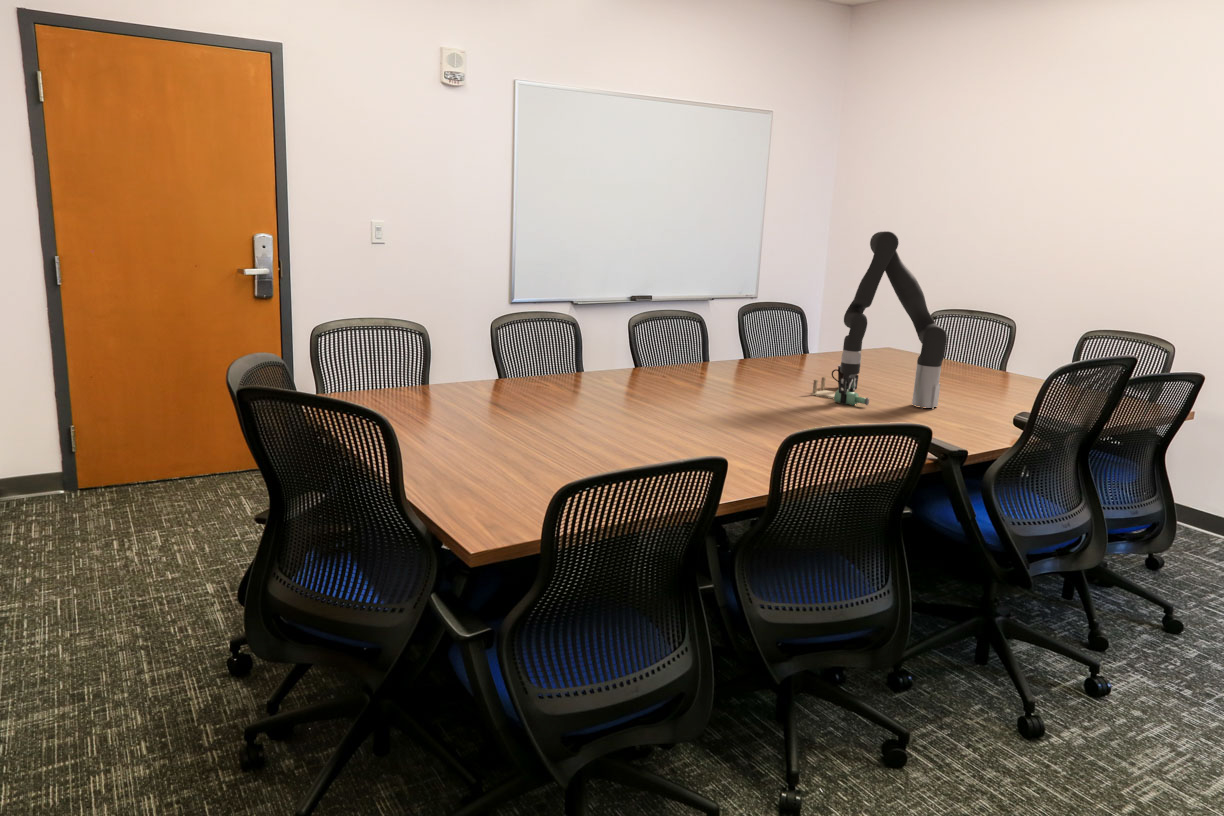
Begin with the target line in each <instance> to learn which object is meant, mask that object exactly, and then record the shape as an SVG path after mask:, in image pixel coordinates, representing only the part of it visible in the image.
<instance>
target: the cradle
mask: <svg viewBox="0 0 1224 816" xmlns="http://www.w3.org/2000/svg"><path fill="white" fill-rule="evenodd" d="M818 382H819V381H818V379H813V383H812V384H813V386H812V391H811V394H810V396H813V395H816V396H815V397H819V396H821V397H820V398H824V397H828V398H827V399H830V398H834V396H835V393H836V391H834V390H833V391H832V390H827V389H825V387H826V386H825V385H826V377H825V376H821V381H820V382H821V383H820V389H819V390H818ZM837 388H838V389H837V390H839V387H837Z"/></svg>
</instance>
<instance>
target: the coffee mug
mask: <svg viewBox="0 0 1224 816" xmlns="http://www.w3.org/2000/svg"><path fill="white" fill-rule="evenodd" d="M837 368H838V369H836V368H835V369H833V370H832V371H831V378H832V379H834V381H836V382H837V385H838V387H839V380H840V378H841V379H843V376H844V374H843V373H841V372H840V368H841V364H838V365H837ZM836 371H837V379H836V377H835V376H834V372H836ZM856 375H858V374H856ZM838 387H837V388H838Z"/></svg>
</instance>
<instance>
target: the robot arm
mask: <svg viewBox="0 0 1224 816" xmlns="http://www.w3.org/2000/svg"><path fill="white" fill-rule="evenodd" d="M899 245H900V244H899V237H898V236H897V235H896V233H895V232H892V231H878V232H876V233H874V234H873V235H872V237H871V238H870V241H869V246H870V249H871V251H872V253H873V256H872V260H871V262H870V264H869V266H868V269H867V270H866V272H865V274H864V275H863V277H862V279H861V280H860V282H859V284H858V287H857V289H856V292H855V295H854V298H853V299H852V301H851V302H850V304H849V306H848V308H847V310H846V311H845V314H844V316H843V323H844V325H845V327H847V328H848V329H849V331H848V334H847V335H846V336H845V337H844V339H843V346H842V353H841V361H840V365H841V368H840V372H841V373H843V374H844V376H843V379H841V378H840V380H839V393H840V394H841V399H840V403H839V404H842V403H843V404H842V405H846V404H845V403H846V399H847V392H854V393H856V392H855V391H856V390H857V388H858V382H859V374H860V371H861V363H862V362H861V361H862V347H863V339H864V337H865V334H866V331H867V327H868V318H867V316H866V315H865V314H864V312H865V310H866V309H868V308H870V306H872V303H873V301H874V298H875V295H876V293H877V291H878V288H879V285H880V282H881V280H882V278H883V275H884V273H886V276H887V278H888V281H889V283H890V285H891V287H892V289H893V290H894V291H893V292H895V295H896V297H897V298H898V300H899V302H900V303H901V306H902V308H903V309H904V310H905V312H906V314H907V315H908V316H909V318H910V320H911V322H912V324H913V327H914V329H915V332H916V335H917V337H918V340H919V341H920V343H921V349H920V354H919V355H918V357H917V361H916V370H915V376H914V377H915V378H914V383H913V384H914V386H913V392H912V400H911V405H912V404H913V405H916V406H920V407H926V408H934V407H936V406H938V405H939V399H940V390H941V383H940V378H941V371H942V363H943V360H944V359H945V354H946V350H947V349H946V347H947V342H948V335H947V334H948V333H947V331H946V330H945V329H944V328H943V327H941V326H940V325H938V324H937V322H935V320H934V318H933V317H932V315H931V314H930V312H929V310H928V307H927V302H926V299H925V295H924V291H923V290H922V287H921V286H920V284H919V281H918V280H917V278H916V277H915V275H914V273H912V272H911V270H910V269H909V268H908V267H907V266H906V264H905V263H904V262H903V261H902V259H901V258H900V256H899V254H898V252H897V251H898V250H897V249H898V248H899ZM856 374H857V375H856ZM843 389H844V390H843Z"/></svg>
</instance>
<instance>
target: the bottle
mask: <svg viewBox="0 0 1224 816" xmlns="http://www.w3.org/2000/svg"><path fill="white" fill-rule="evenodd" d="M835 392H836V393H835V396H834V399H833V400H834V403H836V402H839V403H838V404H841V403H840V399H841V394H840V393H839V390H838V389H837V390H836V391H835ZM869 403H870V398H869V397H862V396H859V393H858V392H847V399H846V403H845V404H844V405H847V404H851V405H850V406H853V405H855V404H856V405H857V404H863V405H866V406H868V405H870V404H869Z"/></svg>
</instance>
